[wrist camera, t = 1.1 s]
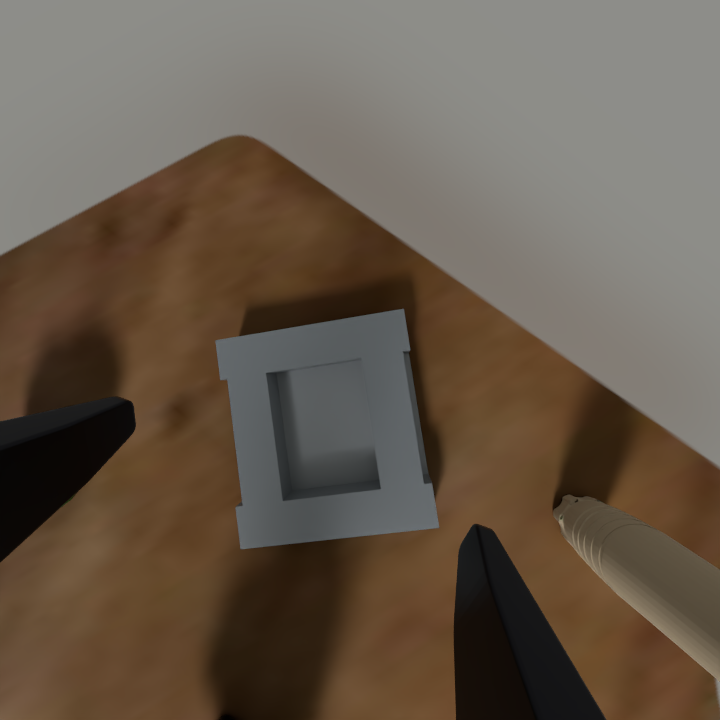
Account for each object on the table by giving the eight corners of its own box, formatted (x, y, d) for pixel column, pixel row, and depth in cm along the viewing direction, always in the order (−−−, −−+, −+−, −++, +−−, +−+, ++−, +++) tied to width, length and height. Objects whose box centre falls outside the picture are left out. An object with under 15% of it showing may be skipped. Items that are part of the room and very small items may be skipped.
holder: (432, 508, 23) (439, 527, 20) (259, 528, 24) (240, 549, 21) (402, 317, 24) (403, 308, 21) (236, 344, 25) (215, 340, 22)
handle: (555, 458, 22) (883, 620, 7) (638, 516, 22) (1184, 822, 7) (514, 514, 22) (760, 786, 8) (596, 573, 22) (1048, 1004, 7)
